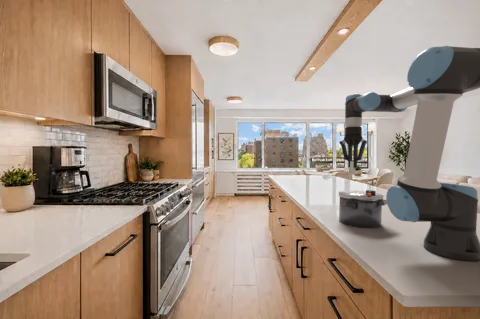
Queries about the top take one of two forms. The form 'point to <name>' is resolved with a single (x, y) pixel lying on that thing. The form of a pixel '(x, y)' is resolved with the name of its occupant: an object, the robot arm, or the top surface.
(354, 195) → the cooker lid
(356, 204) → the cooker pot
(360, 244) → the top surface
